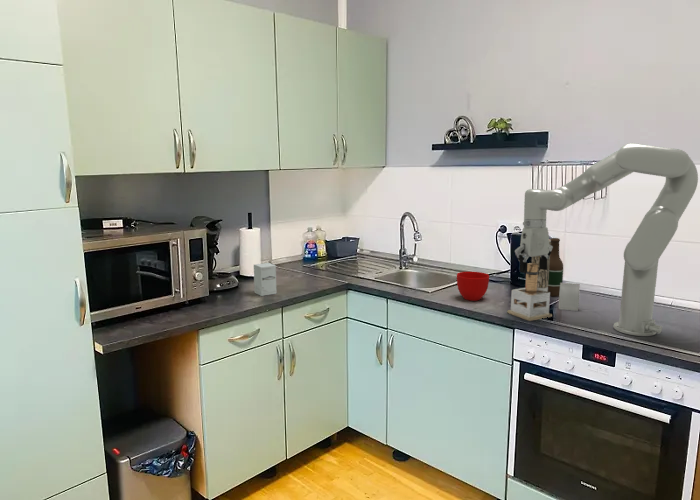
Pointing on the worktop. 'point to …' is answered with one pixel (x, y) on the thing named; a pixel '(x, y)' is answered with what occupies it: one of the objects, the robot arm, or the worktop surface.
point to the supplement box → (265, 279)
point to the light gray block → (569, 296)
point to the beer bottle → (555, 269)
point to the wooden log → (542, 273)
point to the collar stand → (530, 304)
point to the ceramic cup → (472, 284)
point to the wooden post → (531, 280)
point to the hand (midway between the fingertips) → (533, 270)
